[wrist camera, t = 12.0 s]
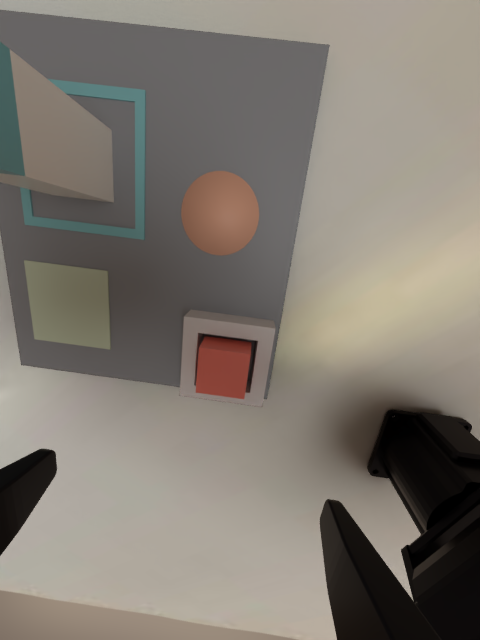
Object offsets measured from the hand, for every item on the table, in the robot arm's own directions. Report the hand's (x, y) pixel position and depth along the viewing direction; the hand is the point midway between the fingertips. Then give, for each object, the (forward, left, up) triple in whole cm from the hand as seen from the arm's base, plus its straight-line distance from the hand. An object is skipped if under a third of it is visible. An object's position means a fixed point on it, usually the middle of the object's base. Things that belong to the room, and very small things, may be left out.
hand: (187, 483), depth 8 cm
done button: (0, 0, -10) cm, 10 cm away
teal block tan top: (+11, +10, -11) cm, 19 cm away
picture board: (+7, +6, -12) cm, 15 cm away
